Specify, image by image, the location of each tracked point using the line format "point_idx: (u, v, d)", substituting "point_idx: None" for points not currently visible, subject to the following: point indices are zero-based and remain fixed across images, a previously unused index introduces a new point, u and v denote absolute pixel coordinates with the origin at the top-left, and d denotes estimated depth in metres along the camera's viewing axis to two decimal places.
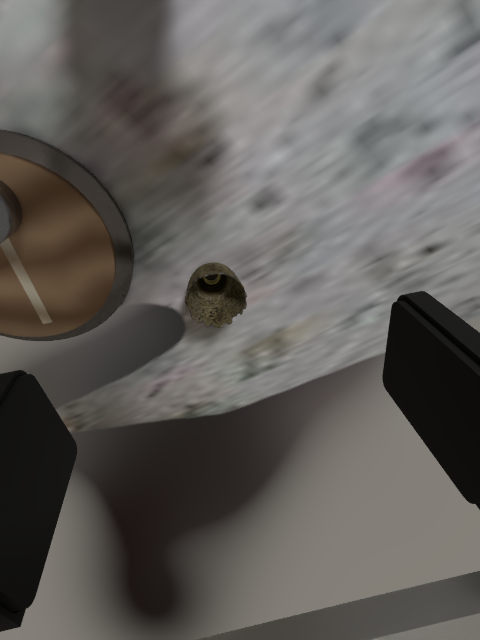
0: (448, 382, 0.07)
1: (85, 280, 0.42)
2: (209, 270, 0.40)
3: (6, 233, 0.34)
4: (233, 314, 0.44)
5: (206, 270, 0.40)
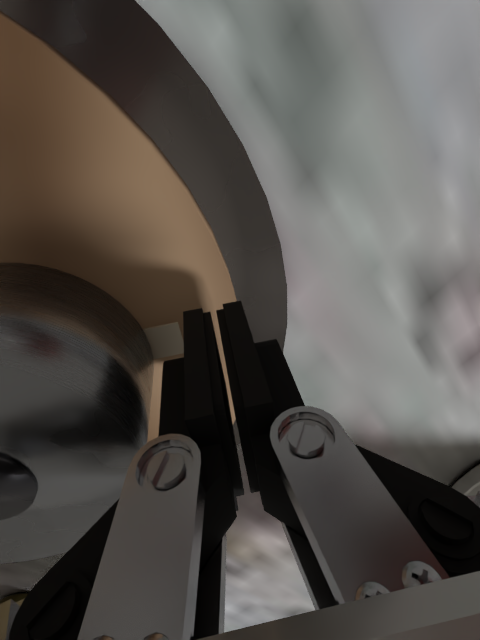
0: None
1: None
2: None
3: None
4: None
5: None
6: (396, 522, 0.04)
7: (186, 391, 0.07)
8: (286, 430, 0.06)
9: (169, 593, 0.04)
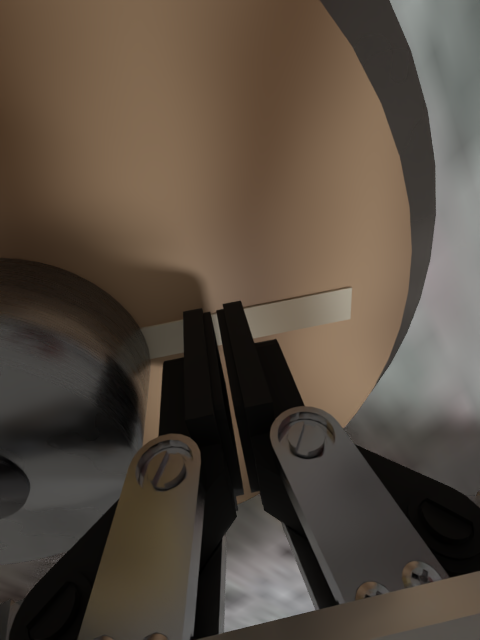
0: None
1: None
2: None
3: None
4: None
5: None
6: (396, 522, 0.04)
7: (186, 391, 0.07)
8: (286, 430, 0.06)
9: (169, 593, 0.04)
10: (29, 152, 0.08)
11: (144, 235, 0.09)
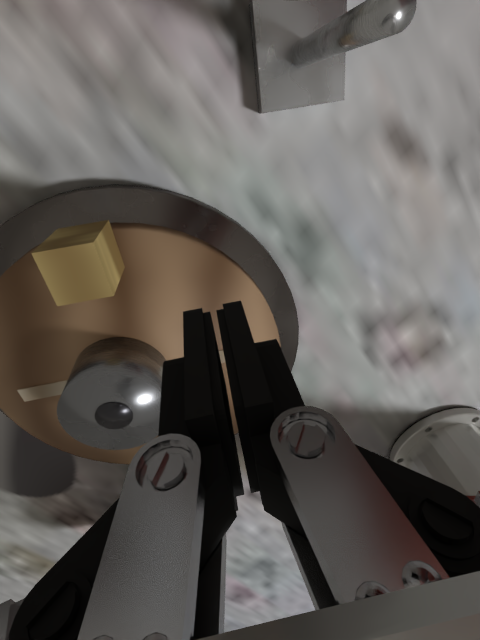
0: None
1: None
2: None
3: None
4: None
5: None
6: (396, 522, 0.04)
7: (186, 391, 0.07)
8: (286, 430, 0.06)
9: (169, 593, 0.04)
10: (134, 305, 0.23)
11: (170, 328, 0.24)
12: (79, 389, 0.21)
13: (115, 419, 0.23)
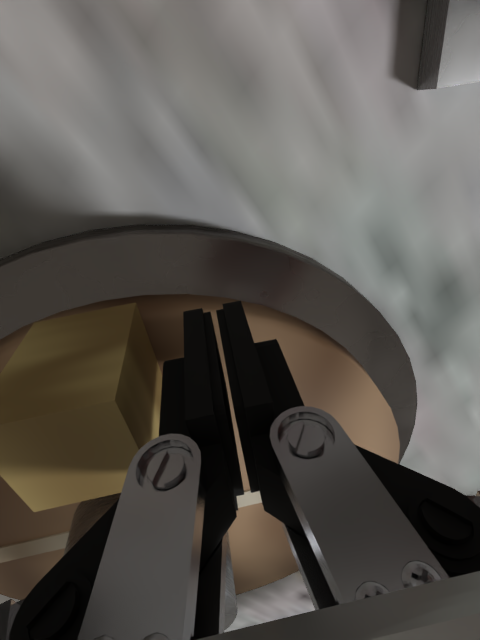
0: None
1: None
2: None
3: None
4: None
5: None
6: (396, 522, 0.04)
7: (186, 391, 0.07)
8: (286, 430, 0.06)
9: (169, 593, 0.04)
10: None
11: None
12: None
13: None
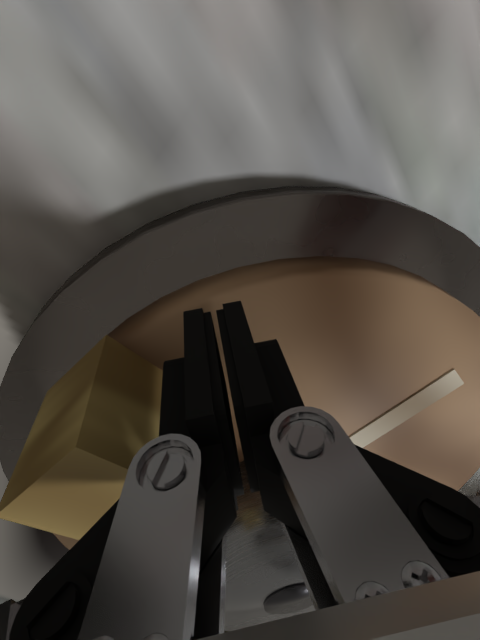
0: None
1: None
2: None
3: None
4: None
5: None
6: (396, 522, 0.04)
7: (186, 391, 0.07)
8: (286, 430, 0.06)
9: (169, 593, 0.04)
10: None
11: None
12: None
13: (298, 602, 0.13)
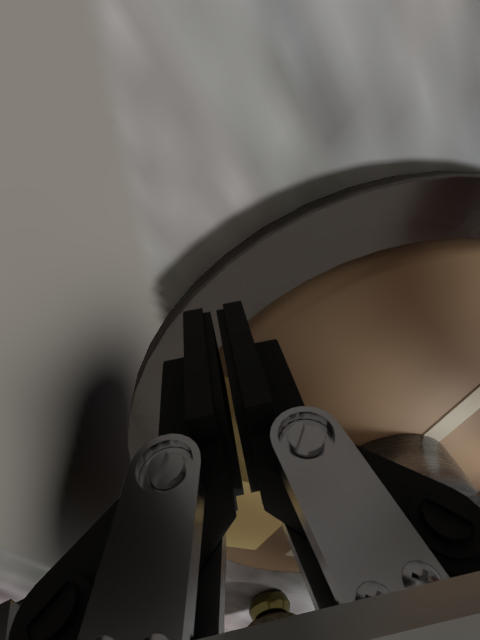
0: None
1: None
2: None
3: None
4: None
5: None
6: (396, 522, 0.04)
7: (186, 391, 0.07)
8: (286, 429, 0.06)
9: (169, 593, 0.04)
10: None
11: (397, 403, 0.14)
12: None
13: None
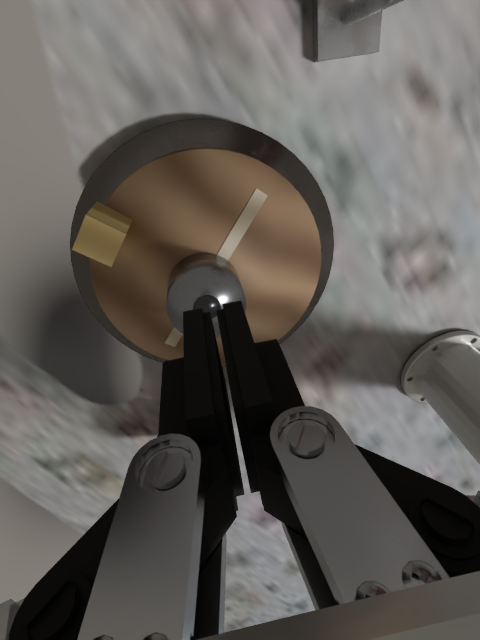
0: None
1: None
2: None
3: None
4: None
5: None
6: (396, 522, 0.04)
7: (186, 391, 0.07)
8: (286, 430, 0.06)
9: (169, 593, 0.04)
10: (161, 237, 0.30)
11: (195, 231, 0.30)
12: (172, 306, 0.29)
13: (209, 309, 0.30)
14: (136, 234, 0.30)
